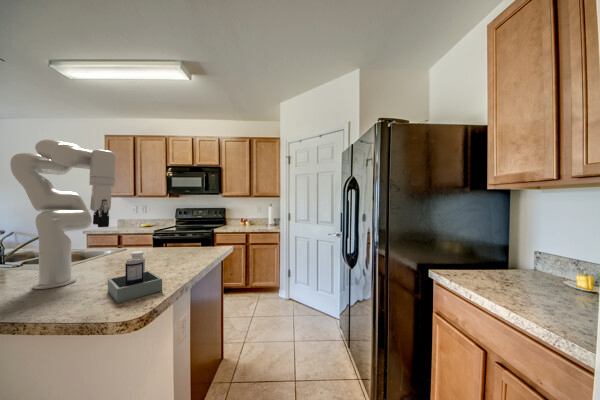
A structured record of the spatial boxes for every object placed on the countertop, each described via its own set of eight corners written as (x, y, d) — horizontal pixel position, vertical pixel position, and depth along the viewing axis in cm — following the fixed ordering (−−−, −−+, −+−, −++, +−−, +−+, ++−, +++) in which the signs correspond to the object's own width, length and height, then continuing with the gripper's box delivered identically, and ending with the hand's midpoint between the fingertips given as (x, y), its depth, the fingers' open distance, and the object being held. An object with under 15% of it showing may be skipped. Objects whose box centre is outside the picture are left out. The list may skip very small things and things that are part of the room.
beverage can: (146, 287, 92) (146, 257, 92) (135, 293, 87) (135, 261, 87) (133, 287, 93) (133, 257, 93) (121, 292, 87) (121, 261, 87)
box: (107, 291, 90) (107, 278, 90) (149, 282, 100) (149, 270, 100) (117, 303, 79) (117, 289, 79) (162, 291, 90) (162, 278, 90)
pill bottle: (127, 279, 105) (128, 254, 105) (130, 275, 110) (130, 251, 110) (143, 277, 107) (144, 252, 108) (145, 273, 113) (145, 250, 113)
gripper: (85, 181, 93) (84, 223, 93) (93, 181, 82) (91, 229, 82) (109, 183, 99) (108, 222, 99) (119, 182, 87) (118, 227, 88)
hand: (100, 225), depth 90 cm, fingers open, 9 cm apart
